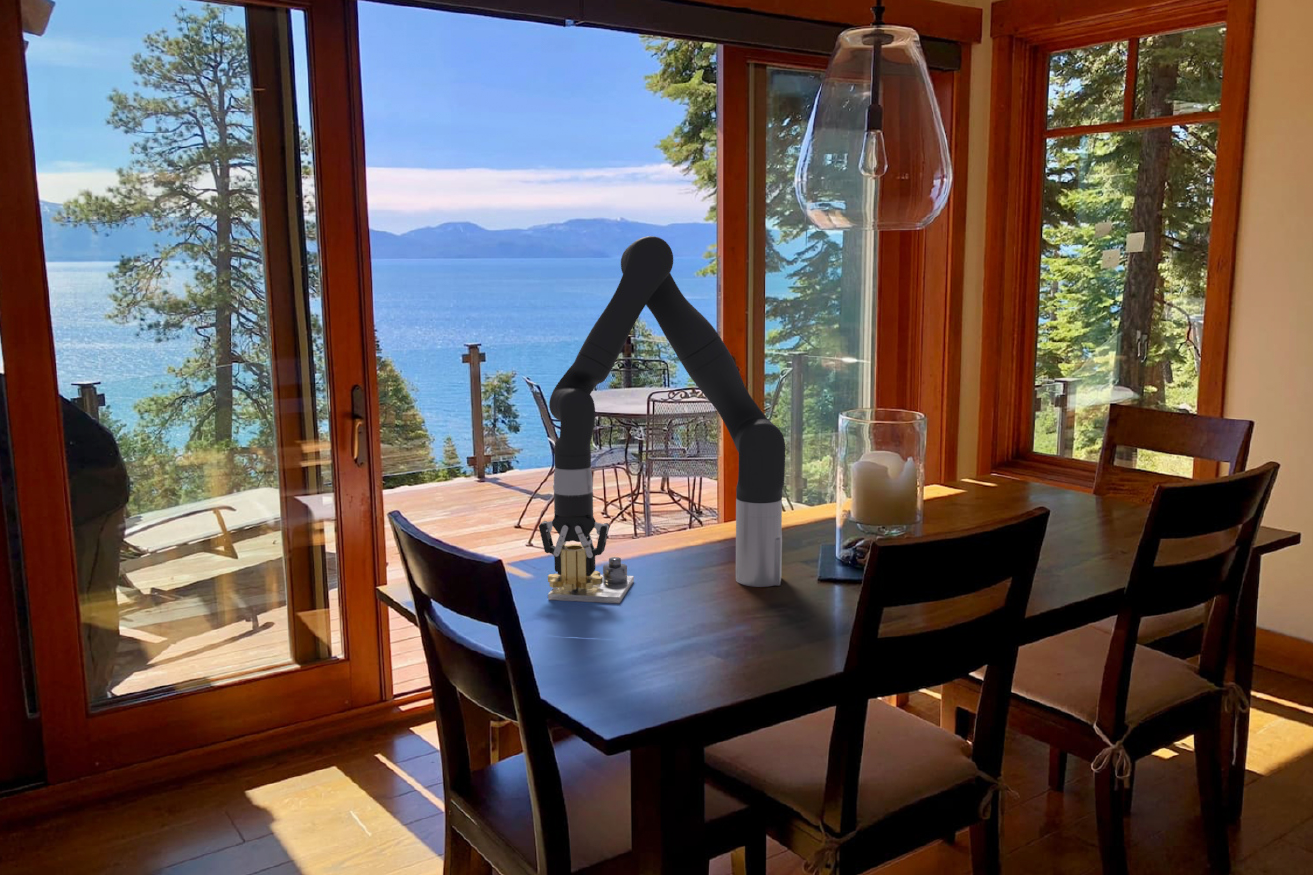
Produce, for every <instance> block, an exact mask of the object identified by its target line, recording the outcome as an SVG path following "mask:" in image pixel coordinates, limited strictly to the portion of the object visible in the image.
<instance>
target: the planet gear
mask: <svg viewBox="0 0 1313 875" xmlns="http://www.w3.org/2000/svg"><path fill="white" fill-rule="evenodd" d="M586 558H587V555H586V552H585V550H584V548H583V547H582V544H581V543H580V544H579V543H572V544H571V543H570V544H565V546H563V547H562V549H561V575H558V573H552V574H551V573H549V574H548V575H547V582H548V583H549V587H550V588H552V589H553V588H556V587H557V588H561V587H563V589H565V590H568V591H572V590H573V589H576V588H577V587H578V588H580V589H586V590H587V589H592V588H593V585H597V584H600V585H601V584H602V583H603V577H602V576H600V574H601V572H600V571H598V570H595V571H594V572H593V573H592V575H591V576H587V575H586Z"/></svg>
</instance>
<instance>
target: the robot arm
mask: <svg viewBox="0 0 1313 875" xmlns="http://www.w3.org/2000/svg"><path fill="white" fill-rule="evenodd" d="M673 265H674V254H673V250H672V248H671V247H670V245H669V243H668V242H667V241H666V240H665V239H663V238H660V237H658V236H653V235H648V236H643V237H641V238H640V237H639V238H638V239H636V240H635V241H633V243H631V244H630V245H629V246H628V247H626V248H625V250H624V251H623V253H622V255H621V259H620V269H621V273H622V276H621V279H620V281H619V284H618V286H617V287H616V290H615V292H614V293H613V295H612V297H611V299H610V301H609V303H608V304H607V305H606V307H605V309H604V310H603V312H602V313H601V315H600V316H599V317H598V319H597V321H596V322H595V324H594V325H593V326H592V328H591V330H590V332H589V333H588V335H587V336H586V338H585V340H584V341H583V345H582V346H581V348H580V349H579V352H578V353H577V355H576V356H575V360H574V361H573V363H572V365H571V366H570V367H569V368H568V369H567V371H566V372H565V373H564V375H563V376H562V377H561V378H560V380H559V381H558V383H557V384H556V385H555V387H554V389H553V391H552V392H551V395H550V398H549V402H548V404H549V405H548V406H549V411H550V414H551V415H552V416H553V417H554V418H555V419H556V420H558V421H560V426H559V427H560V429H559V437H558V438H557V439H556V440H555V442H554V451H553V452H554V455H553V456H554V472H553V484H552V485H553V486H552V488H553V502H554V503H553V505H554V506H553V508H554V509H553V510H554V515H553V516H554V517H553V519H552V520H550V521H547V520H544V521H542V522H541V523H540V524H539V525H538V529H539V533H540V537H541V538H540V539H541V541H542V546H543V550H544V552H545V554H550V555H553V557H554V558H553V559H554V571H555V572H557V574H558V575H561V549H562V547H563V546H565V545H567V544H566V543H568V542H576V543H580V544H582V547H583V548H584V550H585V552H586V555H587V558H586V575H587V576H591V575H592V573H593V572H594V571H596V556H601V555H602V554H603V553H604V551H605V549H606V545H607V544H606V543H607V540H608V535H609V530H610V523H608V522H604V523H601V522H597V521H596V519H595V516H594V489H593V488H594V487H593V486H594V483H593V481H594V480H593V474H592V453H591V452H592V450H591V442H592V438H593V432H594V427H595V420H596V405H595V402H594V398H593V396H592V395H591V394H592V392H593V391H594V389H595V387H597V385H599V384H601V383H604V381H605V380H606V379H607V378H608V377H609V375H610V373H611V371H612V370H613V367H614V366H615V363H616V362H617V359H618V357H619V356H620V353H621V351H622V349H623V347H624V346H625V344H626V341H627V339H628V338H629V335H630V334H631V332H632V330H633V328H634V325H635V324H636V322H637V320H638V318H639V317H640V315H641V314H642V312H643V311H644V308H645V307H647V308H648V310H649V311H650V312H651V314H652V316H653V317H654V318H655V320H656V322H657V324H658V326H659V327H660V330H661V331H662V333H663V334H664V337H665V338H666V340H667V341H668V343H669V345H670V346H671V348H672V351H674V353H675V355H676V356H677V359H678V360H679V362H680V363H681V365H682V366H683V368H684V369H685V371H686V373H687V374H688V375H689V377H690V378H691V380H692V381H693V382H694V384H695V385H696V387H697V388H698V389H699V391H700V392H701V393H702V394H703V396H704V397H705V398H706V399H707V400H708V401H709V402H710V404H712V406H713V407H714V409H715V410H716V411H717V413H718V414H719V416H720V418H721V419H722V422H723V423H724V425H725V427H726V429H727V431H728V433H729V435H730V438H731V439H732V441H733V443H734V446H735V449H736V451H737V453H738V474H737V475H738V476H737V484H736V488H735V490H736V491H735V492H736V493H735V494H736V496H735V498H736V499H735V581H736V582H737V583H738V584H740V585H743V586H748V587H753V588H754V587H757V588H759V587H760V588H764V587H773V586H781V583H782V568H783V567H782V564H783V563H782V559H783V558H782V557H783V556H782V555H783V554H782V552H783V533H782V528H783V526H782V525H783V524H782V521H783V520H782V518H783V517H782V516H783V514H782V511H783V489H784V485H785V474H786V473H785V471H786V470H785V468H786V440H785V437H784V435H783V433H782V431H781V430H780V428H778V427H777V425H775V424H774V423H773V422H771V420H770V419H769V418H768V417H767V416H766V415H765V414H764V413H763V411H762V410H761V409H760V407H759V406H758V405H757V403H756V402H755V400H754V398H753V397H752V396H751V395H750V393H749V391H748V390H747V388H746V386H745V383H744V380H743V378H742V376H741V373H740V371H739V368H738V366H737V364H736V362H735V360H734V358H733V356H732V354H731V353H730V351H729V349H728V346H726V344H725V342H724V341H723V340H722V338H721V336H720V334H719V332H718V331H717V330H716V329H715V328H714V326H713V325H712V324H711V323H710V322H709V321H708V319H707V318H706V317H705V316H704V315H703V314H702V313H701V312H699V311H698V309H696V308H695V306H693V305H692V304H691V303H690V302H689V300H687V298H686V297H685V295H684V294H683V293H682V292H681V290H680V288H679V287H678V284H676V281H675V279H674V277H673V276H672V274H671V272H672V269H673ZM553 528H554V529H555V531H556V532H557V533H558V539H557V540H556V545H554V543H553V537H552V533H551V532H552V531H553ZM594 529H595V530H596V534H597V535H598V540H597V542H596V543H597V544H596V547H595V546H594V544H593V538H592V537H591V533H592V532H593V530H594Z"/></svg>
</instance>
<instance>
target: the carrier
mask: <svg viewBox="0 0 1313 875" xmlns="http://www.w3.org/2000/svg"><path fill="white" fill-rule="evenodd" d="M600 576H602V577H603V583H602V584H601V585H600V584H597V585H593V588H592V589H587V590H586V589H580V588H578V587H577V588H576V589H573V590H572V591H568V590H565V589H563V587H561V588H557V587H556V588H552V589H551V590H550V591H549V592H548V595H547V596H548V597H547V599H548V601H562V602H563V601H564V602H565V601H566V602H585V603H586V602H587V603H602V604H603V603H605V604H606V603H607V604H621V602H622V601H623V599H624V597H625V596H626V595H627V593H628V591H629V590H630V588H631V587H632V585H633V584H634V582H635V580H634V578H635V576H634V575H628V565H626V564H625V563H622V559H621V557H618V556H617V557H616V556H614V557H609V558H608V563H606V564H604V565H603V566H602V574H601V573H600Z"/></svg>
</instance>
